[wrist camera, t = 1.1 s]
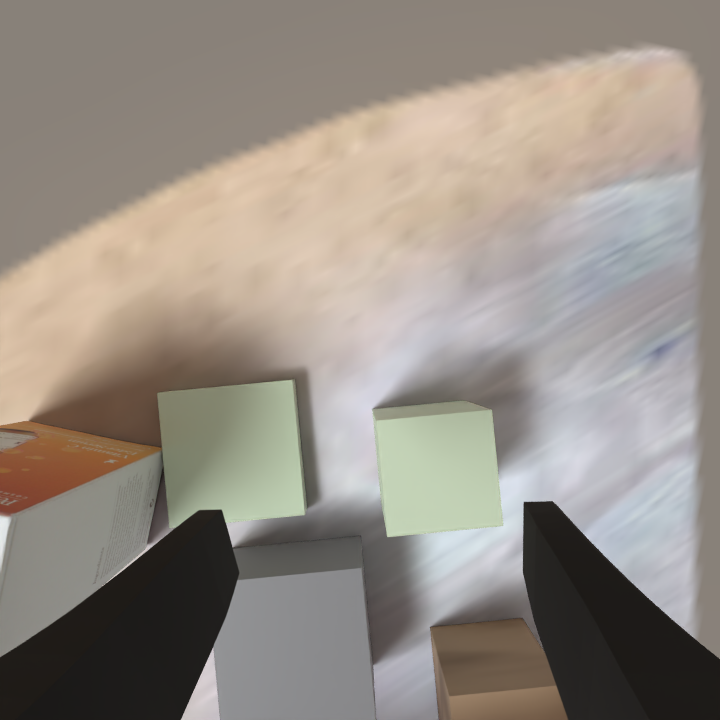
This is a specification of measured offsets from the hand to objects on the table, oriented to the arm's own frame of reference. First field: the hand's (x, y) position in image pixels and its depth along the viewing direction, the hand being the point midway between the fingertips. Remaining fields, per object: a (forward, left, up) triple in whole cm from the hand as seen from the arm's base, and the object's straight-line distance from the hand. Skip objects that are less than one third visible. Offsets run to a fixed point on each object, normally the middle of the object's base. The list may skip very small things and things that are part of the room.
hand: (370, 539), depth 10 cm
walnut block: (-13, -5, -13) cm, 19 cm away
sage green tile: (0, +7, -13) cm, 15 cm away
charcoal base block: (-9, +4, -14) cm, 17 cm away
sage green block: (-1, -3, -13) cm, 14 cm away
